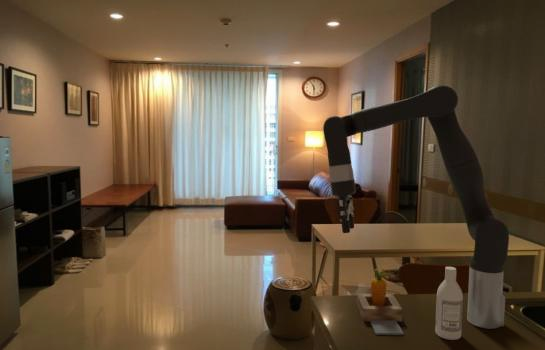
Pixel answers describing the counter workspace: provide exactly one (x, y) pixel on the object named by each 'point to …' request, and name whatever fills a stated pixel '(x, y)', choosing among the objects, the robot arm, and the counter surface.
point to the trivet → (386, 327)
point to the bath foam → (449, 307)
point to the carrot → (378, 289)
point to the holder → (379, 308)
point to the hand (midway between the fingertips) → (348, 230)
